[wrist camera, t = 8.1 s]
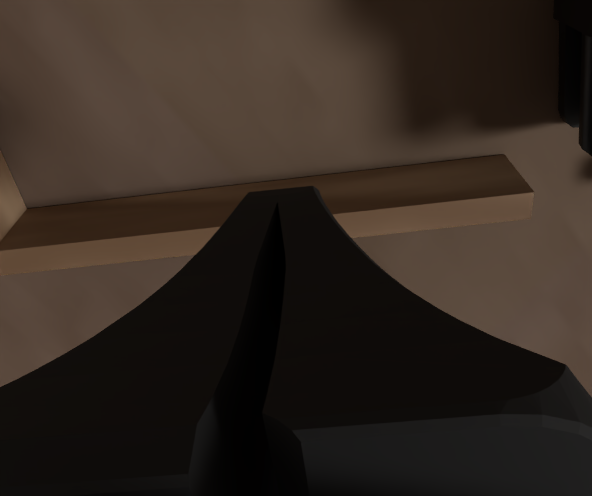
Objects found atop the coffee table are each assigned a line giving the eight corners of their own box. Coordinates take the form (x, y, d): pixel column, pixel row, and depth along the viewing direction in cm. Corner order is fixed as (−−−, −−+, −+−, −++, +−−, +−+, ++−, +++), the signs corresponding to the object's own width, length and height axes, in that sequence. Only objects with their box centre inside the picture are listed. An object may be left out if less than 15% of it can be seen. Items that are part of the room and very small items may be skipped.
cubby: (501, 178, 21) (530, 218, 18) (7, 233, 22) (-29, 278, 20) (540, -235, 14) (593, -260, 12) (-167, -126, 16) (-254, -128, 13)
